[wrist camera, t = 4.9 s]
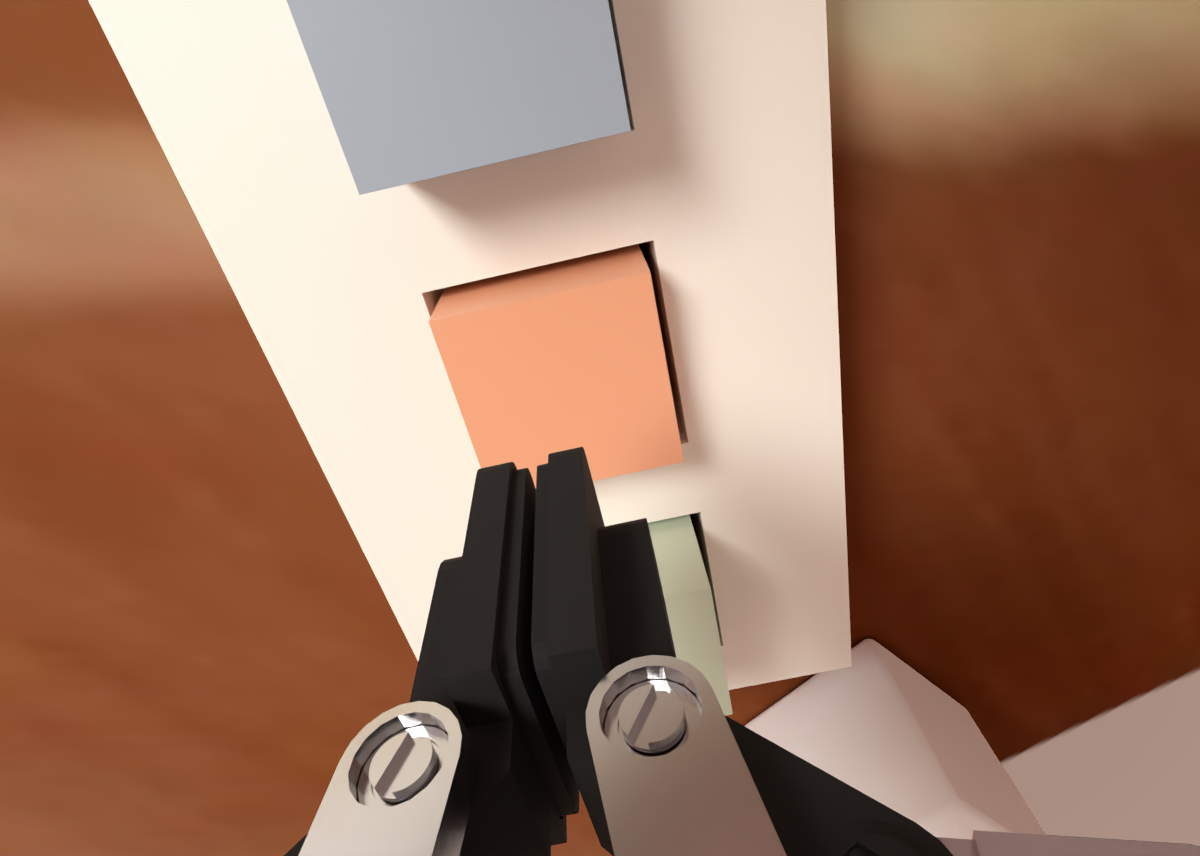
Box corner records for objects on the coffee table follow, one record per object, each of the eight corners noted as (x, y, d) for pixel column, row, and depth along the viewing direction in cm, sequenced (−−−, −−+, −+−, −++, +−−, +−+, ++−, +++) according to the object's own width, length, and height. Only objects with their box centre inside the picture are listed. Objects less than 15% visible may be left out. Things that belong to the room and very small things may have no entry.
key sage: (527, 530, 21) (521, 626, 17) (684, 498, 21) (710, 588, 17) (564, 642, 23) (565, 745, 20) (706, 614, 23) (732, 714, 20)
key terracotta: (453, 271, 18) (428, 321, 15) (632, 230, 18) (649, 271, 14) (504, 427, 21) (493, 501, 17) (662, 392, 20) (684, 461, 17)
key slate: (315, -101, 13) (226, -158, 10) (563, -166, 13) (564, -249, 9) (404, 164, 16) (359, 195, 12) (613, 114, 15) (630, 131, 12)
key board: (84, -177, 14) (-28, -233, 11) (757, -363, 13) (807, -469, 10) (468, 673, 26) (458, 741, 24) (821, 604, 26) (851, 666, 23)
